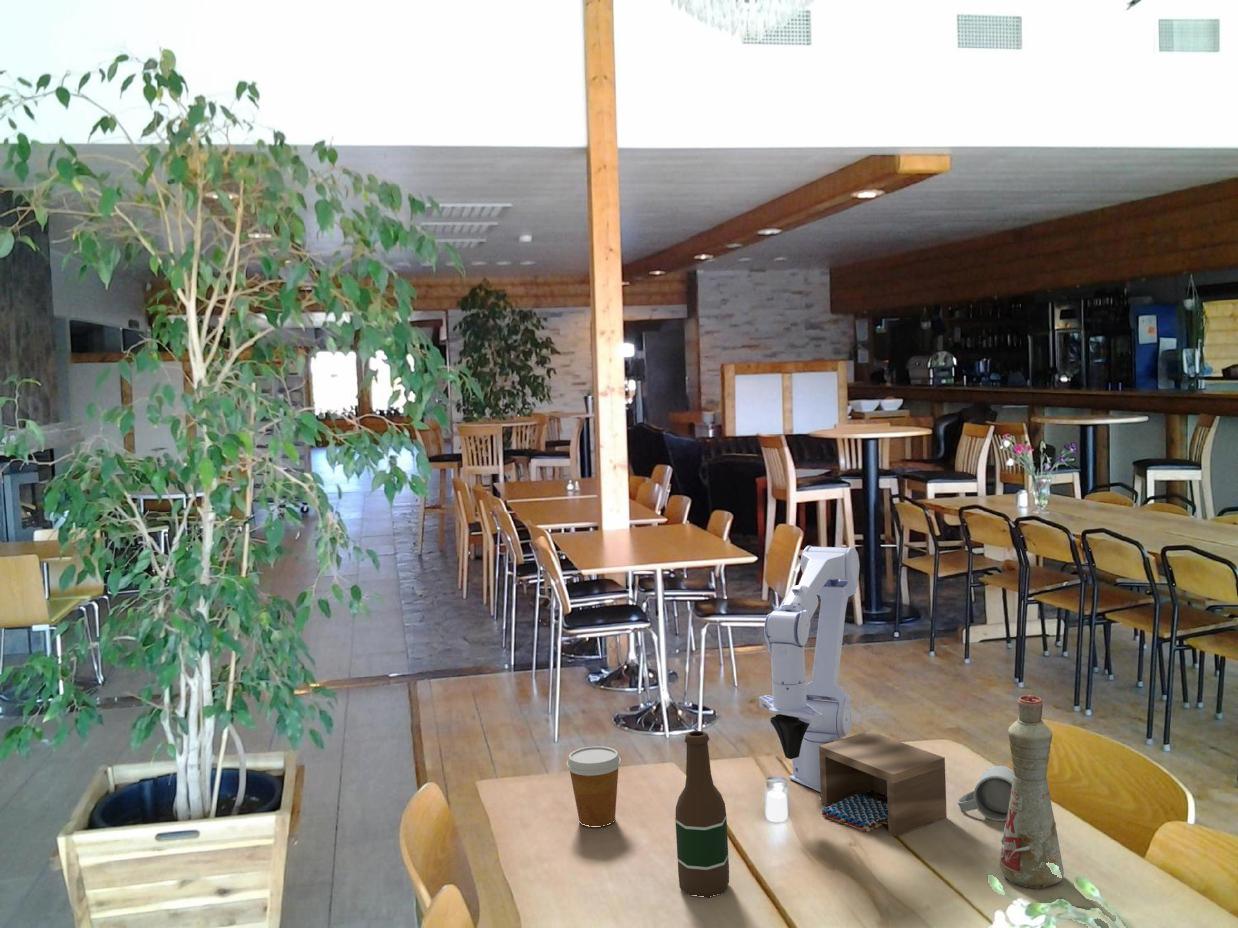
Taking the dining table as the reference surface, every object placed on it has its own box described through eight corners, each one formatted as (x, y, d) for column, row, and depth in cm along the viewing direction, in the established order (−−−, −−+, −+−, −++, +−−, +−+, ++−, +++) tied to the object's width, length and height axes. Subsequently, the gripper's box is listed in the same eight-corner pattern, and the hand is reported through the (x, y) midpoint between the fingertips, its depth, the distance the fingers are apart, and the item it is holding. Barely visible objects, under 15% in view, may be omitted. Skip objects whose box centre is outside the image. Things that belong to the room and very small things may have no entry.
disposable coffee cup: (561, 828, 200) (557, 761, 199) (583, 807, 208) (579, 743, 207) (612, 834, 196) (608, 766, 195) (632, 812, 205) (628, 747, 204)
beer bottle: (675, 877, 179) (667, 727, 176) (725, 873, 179) (717, 723, 177) (682, 901, 171) (674, 744, 169) (734, 896, 172) (726, 739, 169)
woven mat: (906, 817, 198) (906, 806, 197) (867, 836, 191) (866, 824, 191) (858, 801, 206) (858, 790, 205) (819, 819, 199) (818, 807, 199)
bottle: (1057, 896, 166) (1053, 707, 163) (993, 883, 171) (988, 699, 168) (1069, 871, 173) (1066, 690, 171) (1007, 860, 178) (1003, 683, 176)
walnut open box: (821, 803, 204) (819, 745, 203) (871, 786, 211) (869, 731, 210) (895, 836, 189) (893, 774, 188) (946, 817, 195) (944, 757, 194)
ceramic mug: (1024, 804, 199) (1022, 761, 198) (1021, 823, 191) (1019, 778, 191) (961, 800, 203) (959, 757, 202) (955, 818, 195) (953, 774, 195)
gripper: (744, 675, 202) (747, 751, 203) (798, 694, 189) (802, 774, 191) (775, 668, 205) (778, 742, 207) (831, 685, 193) (834, 764, 194)
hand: (792, 756), depth 199 cm, fingers closed
